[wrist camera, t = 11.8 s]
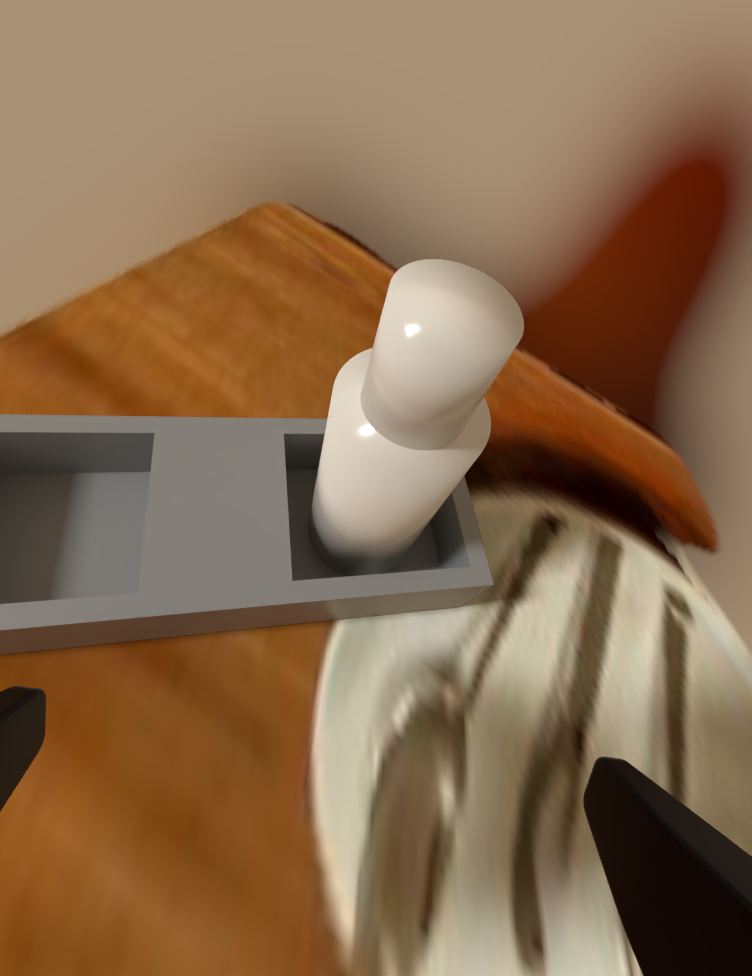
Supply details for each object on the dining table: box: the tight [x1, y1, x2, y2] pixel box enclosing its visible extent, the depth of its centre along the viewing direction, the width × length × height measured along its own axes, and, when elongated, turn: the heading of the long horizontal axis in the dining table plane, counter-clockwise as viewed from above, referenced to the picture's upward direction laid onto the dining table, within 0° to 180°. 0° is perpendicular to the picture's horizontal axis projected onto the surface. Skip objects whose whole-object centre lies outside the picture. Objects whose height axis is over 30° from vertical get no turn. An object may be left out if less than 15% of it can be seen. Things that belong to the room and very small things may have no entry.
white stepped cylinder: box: [308, 259, 524, 576], centre depth 15 cm, size 5×5×12 cm
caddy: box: [0, 414, 494, 655], centre depth 18 cm, size 8×20×4 cm, turn 99°
